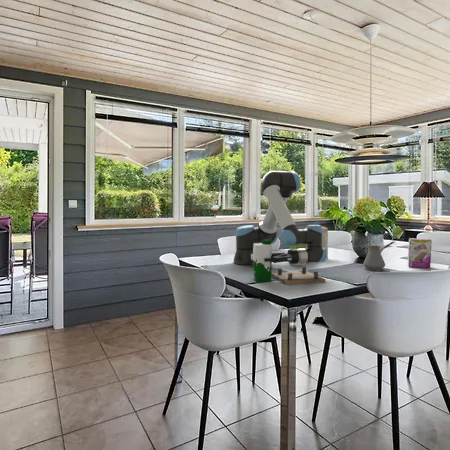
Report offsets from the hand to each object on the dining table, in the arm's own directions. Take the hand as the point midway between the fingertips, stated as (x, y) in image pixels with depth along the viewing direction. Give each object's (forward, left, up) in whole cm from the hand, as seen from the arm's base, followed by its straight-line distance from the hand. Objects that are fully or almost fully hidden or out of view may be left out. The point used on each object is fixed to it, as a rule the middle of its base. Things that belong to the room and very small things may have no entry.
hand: (254, 258), depth 175 cm
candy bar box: (-7, +102, -11) cm, 102 cm away
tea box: (-38, +41, -11) cm, 57 cm away
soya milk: (0, +4, -11) cm, 12 cm away
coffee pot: (-10, +79, -11) cm, 80 cm away
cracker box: (-51, +60, -11) cm, 79 cm away
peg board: (+3, +22, -11) cm, 24 cm away
